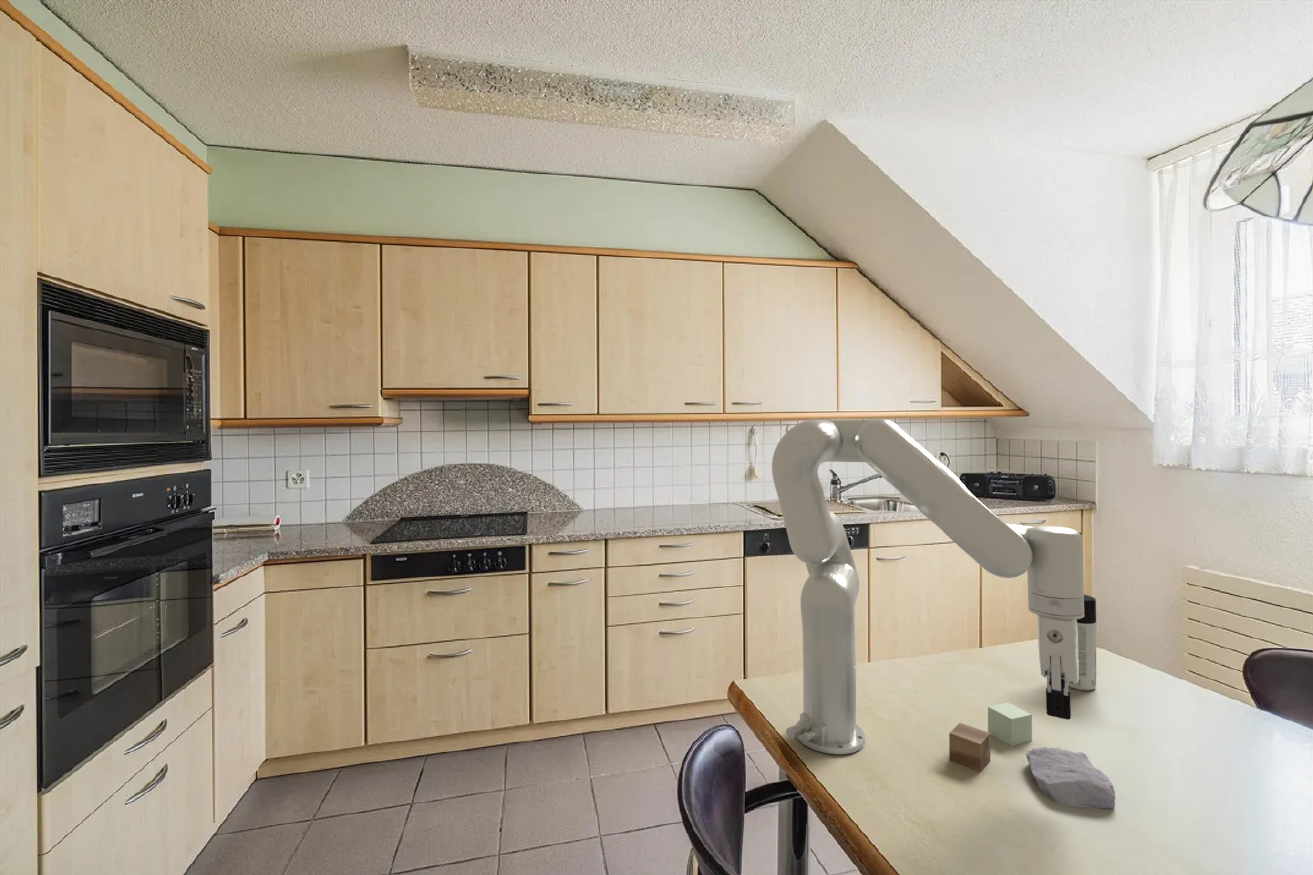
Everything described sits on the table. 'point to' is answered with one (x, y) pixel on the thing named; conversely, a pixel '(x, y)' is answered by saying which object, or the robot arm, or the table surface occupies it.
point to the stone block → (1070, 778)
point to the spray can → (1086, 647)
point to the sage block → (1010, 723)
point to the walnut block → (969, 747)
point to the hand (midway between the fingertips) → (1058, 715)
